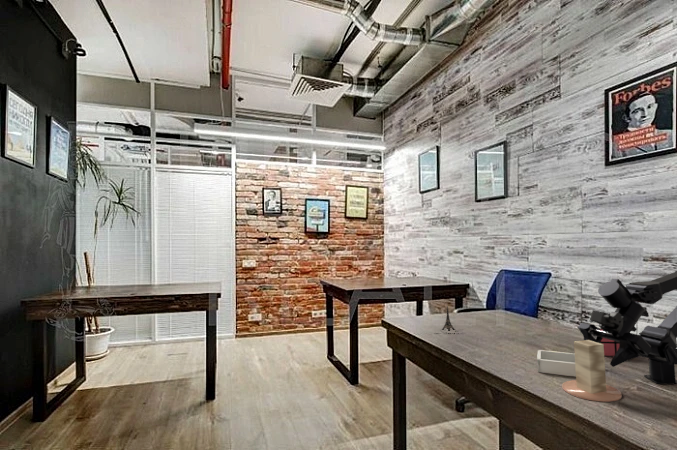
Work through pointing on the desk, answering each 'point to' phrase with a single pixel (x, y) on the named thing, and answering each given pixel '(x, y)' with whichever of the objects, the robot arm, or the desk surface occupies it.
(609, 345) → the puzzle cube
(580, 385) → the birch block
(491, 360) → the desk surface
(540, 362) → the walled channel
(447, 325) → the eiffel tower figurine
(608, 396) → the terracotta pad
